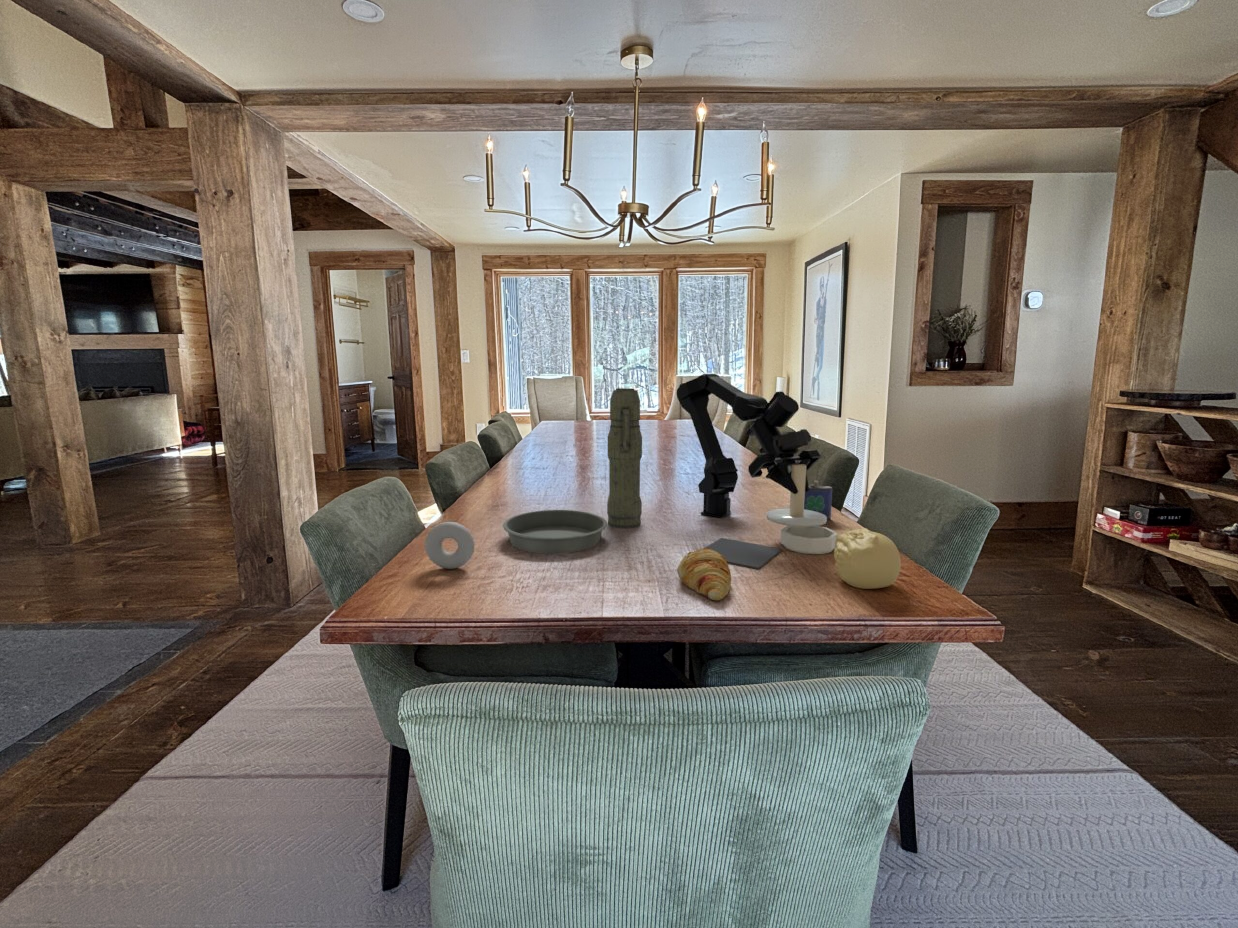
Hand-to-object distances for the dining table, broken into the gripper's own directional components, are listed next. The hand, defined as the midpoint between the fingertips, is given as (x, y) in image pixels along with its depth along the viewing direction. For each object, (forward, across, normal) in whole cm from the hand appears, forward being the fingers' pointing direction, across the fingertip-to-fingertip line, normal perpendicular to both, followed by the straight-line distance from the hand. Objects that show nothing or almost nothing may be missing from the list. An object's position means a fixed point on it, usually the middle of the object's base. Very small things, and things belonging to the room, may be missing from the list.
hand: (802, 492), depth 143 cm
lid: (+4, 0, +6) cm, 7 cm away
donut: (-7, -76, +25) cm, 80 cm away
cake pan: (-13, -49, +31) cm, 59 cm away
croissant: (+16, -35, +2) cm, 39 cm away
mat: (+8, -17, +10) cm, 21 cm away
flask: (-1, +20, +19) cm, 27 cm away
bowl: (+11, 0, +7) cm, 13 cm away
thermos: (-16, -27, +34) cm, 46 cm away
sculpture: (+26, -8, -8) cm, 29 cm away
